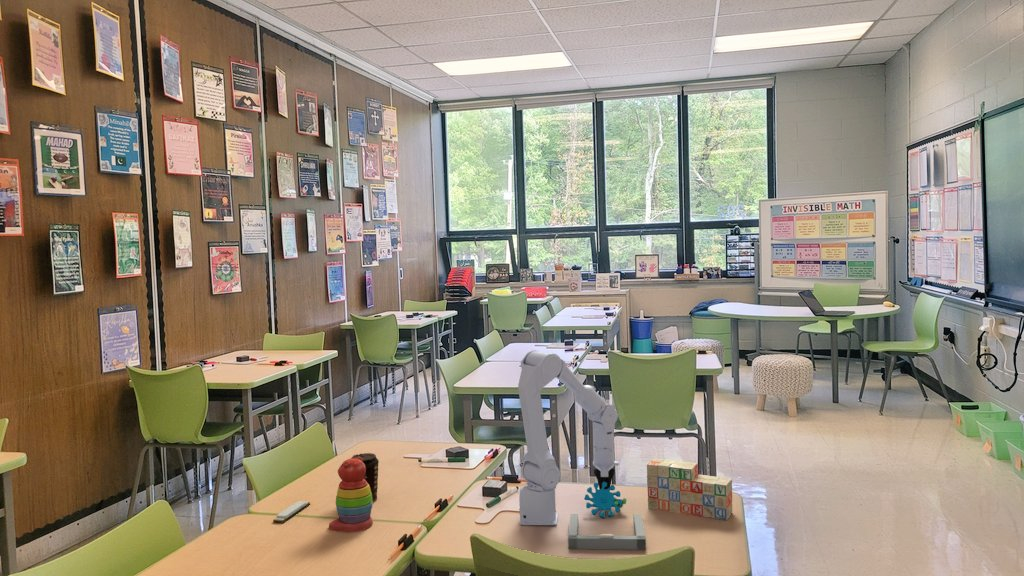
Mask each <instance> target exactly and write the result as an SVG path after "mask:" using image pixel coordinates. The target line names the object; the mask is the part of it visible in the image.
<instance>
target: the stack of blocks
mask: <svg viewBox="0 0 1024 576" xmlns="http://www.w3.org/2000/svg"><path fill="white" fill-rule="evenodd" d="M698 465H699V464H698V463H697V462H688V461H680V460H673V459H672V460H671V459H665V458H664V459H663V458H662V459H661V458H653V459H651V460H650V461H649V462H648V463H646V484H647V485H646V486H647V506H648V507H647V508H649V509H654V510H660V511H665V512H670V513H671V512H672V513H677V514H683V513H684V514H685V515H690V514H691V515H690V516H696V515H698V517H703V516H704V517H703V518H709V517H712V518H711V519H715V518H719V519H718V520H721V519H727V518H728V517H731V515H732V514H733V478H729V477H720V476H715V475H713V476H712V475H706V474H699V466H698ZM731 513H732V514H731ZM728 519H729V518H728ZM728 519H727V520H728Z"/></svg>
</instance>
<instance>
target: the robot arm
mask: <svg viewBox="0 0 1024 576" xmlns="http://www.w3.org/2000/svg"><path fill="white" fill-rule="evenodd" d="M520 369H521V372H520V375H519V381H518V385H517V388H518V389H517V390H518V397H519V405H520V409H521V416H522V422H523V429H524V430H523V431H524V436H525V445H526V453H524V455H523V456H522V461H523V462H522V467H521V475H522V478H523V479H525V480H526V485H523V486H520V487H519V498H518V499H519V509H518V511H519V525H521V526H557V525H558V519H559V518H558V517H559V513H558V512H557V509H556V508H557V507H556V505H557V504H556V489H557V485H558V484H559V483H560V480H561V471H560V469H559V467H558V466H557V464H556V459H555V457H554V456H553V454H552V453H551V451H550V450H549V444H548V436H547V431H546V422H545V416H544V410H543V409H544V408H543V402H542V395H541V392H542V390H543V388H545V387H546V386H547V385H548V384H549V383H551V382H552V381H553V380H554V379H557V380H558V381H559V382H561V384H563V386H565V387H566V388H567V389H568V390H570V391H571V392H572V393H573V394H574V396H573V397H574V401H575V402H576V403H577V404H578V405H579V406H580V408H581V409H583V410H584V411H585V412H586V413H587V418H588V419H589V420H590V421H591V422H592V446H593V447H592V449H593V451H592V453H593V454H592V455H593V457H592V458H593V461H592V466H593V473H594V476H595V478H596V481H597V483H598V484H599V486H598V490H600V489H601V488H602V483H603V482H606V483H607V486H606V487H604V489H605V490H606V489H608V488H610V486H611V485H612V480H613V478H614V476H615V471H616V470H615V466H619V465H620V464H619V460H615V442H614V441H615V429H616V423H617V421H618V417H619V413H618V412H617V410H616V407H615V406H614V405H612V404H608V403H607V401H606V398H604V397H602V396H600V394H599V393H598V392H597V391H596V390H597V388H596V387H595V386H593V385H590V384H585V385H584V384H583V383H582V381H581V380H580V379H579V378H578V377H577V376H576V374H575V373H574V372H573V371H572V370H571V368H569V367H568V366H567V363H566V361H565V360H564V359H562V358H561V357H560V356H559V355H558V354H556V353H550V352H544V351H539V350H536V349H535V350H529V351H528V352H527V353H525V355H524V357H523V358H522V359H521V361H520Z"/></svg>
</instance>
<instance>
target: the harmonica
mask: <svg viewBox="0 0 1024 576" xmlns="http://www.w3.org/2000/svg"><path fill="white" fill-rule="evenodd" d="M309 505H310V506H311V503H310V501H305V500H303V501H302V500H299V501H296V502H294V503H293V504H292V505H290V506H288V507H286V508H285V509H284V510H283V511H280V512H279V513H278V514H276V518H274V519H273V521H272V523H273V524H285V523H287V522H289V520H291V519H292V518H294V517H296V514H297V515H298V514H300V513H301V512H302V511H303V510H305V509H307V508H308V507H310V506H309Z"/></svg>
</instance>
